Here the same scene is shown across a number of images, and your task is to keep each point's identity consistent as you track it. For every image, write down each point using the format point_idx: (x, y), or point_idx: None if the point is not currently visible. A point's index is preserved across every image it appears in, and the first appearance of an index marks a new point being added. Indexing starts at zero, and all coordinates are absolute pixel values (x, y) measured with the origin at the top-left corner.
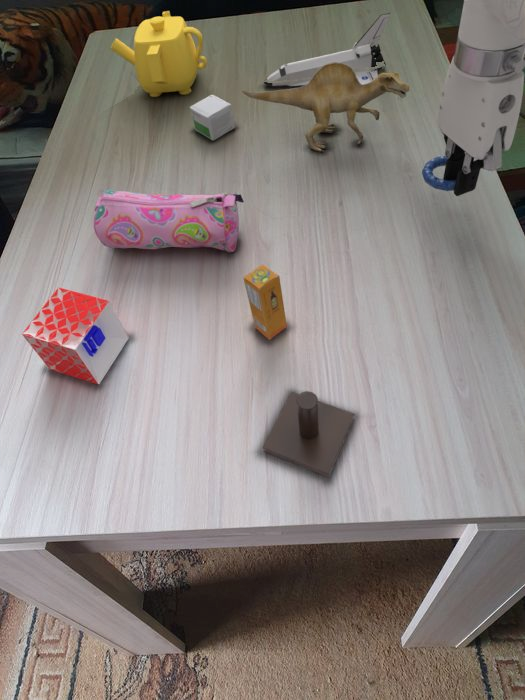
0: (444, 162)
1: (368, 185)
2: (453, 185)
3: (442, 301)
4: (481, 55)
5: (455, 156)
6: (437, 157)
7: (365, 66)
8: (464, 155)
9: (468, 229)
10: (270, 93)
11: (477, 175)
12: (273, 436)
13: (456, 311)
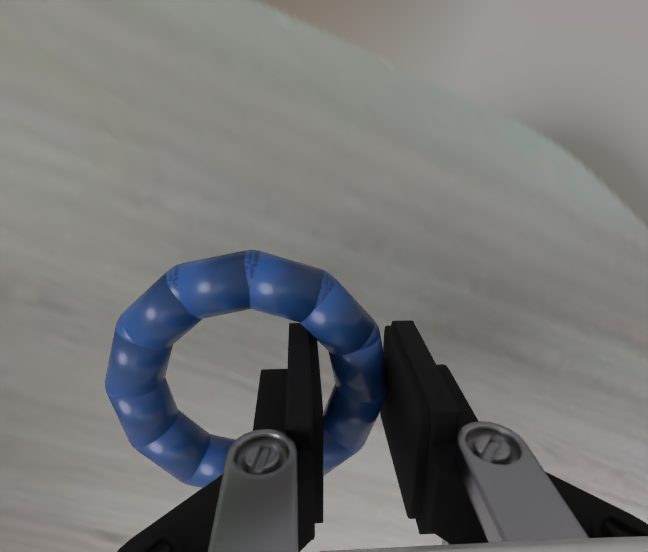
0: (164, 366)
1: (44, 443)
2: (368, 430)
3: (593, 470)
4: None
5: (313, 527)
6: (120, 399)
7: None
8: (304, 442)
9: (418, 274)
10: None
11: (472, 415)
12: None
13: (638, 458)
